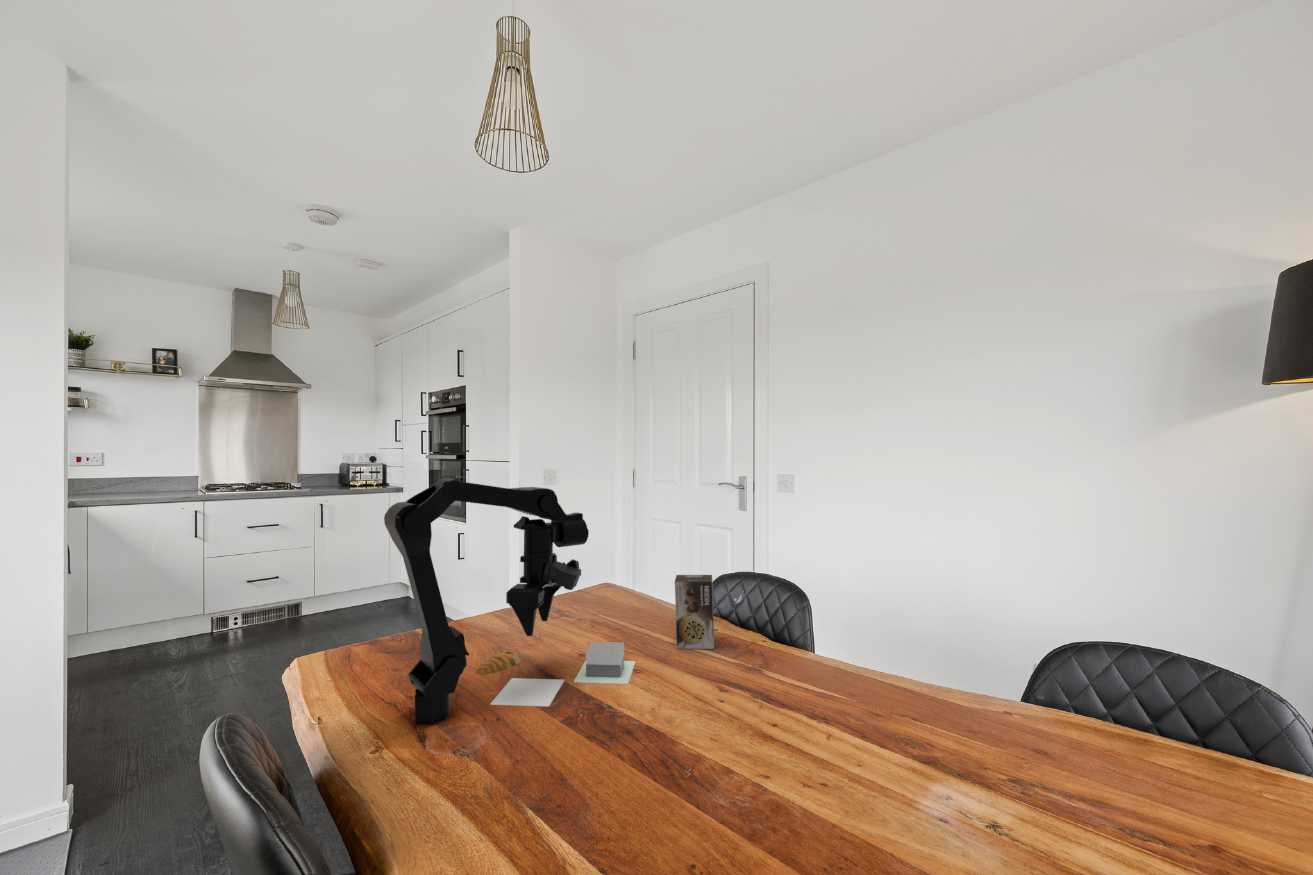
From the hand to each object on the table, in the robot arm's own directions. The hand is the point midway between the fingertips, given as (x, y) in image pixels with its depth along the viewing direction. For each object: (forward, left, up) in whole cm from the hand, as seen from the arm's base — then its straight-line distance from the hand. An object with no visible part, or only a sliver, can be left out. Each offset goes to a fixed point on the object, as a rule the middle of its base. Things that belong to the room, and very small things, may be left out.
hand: (537, 628), depth 109 cm
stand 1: (-5, 0, -12) cm, 13 cm away
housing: (+5, -13, -11) cm, 17 cm away
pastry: (+7, +11, -12) cm, 18 cm away
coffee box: (+25, -31, -12) cm, 42 cm away
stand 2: (+5, -13, -12) cm, 18 cm away
